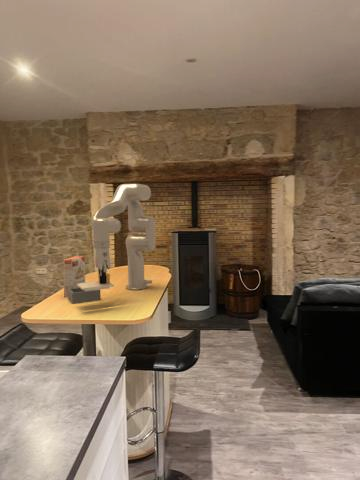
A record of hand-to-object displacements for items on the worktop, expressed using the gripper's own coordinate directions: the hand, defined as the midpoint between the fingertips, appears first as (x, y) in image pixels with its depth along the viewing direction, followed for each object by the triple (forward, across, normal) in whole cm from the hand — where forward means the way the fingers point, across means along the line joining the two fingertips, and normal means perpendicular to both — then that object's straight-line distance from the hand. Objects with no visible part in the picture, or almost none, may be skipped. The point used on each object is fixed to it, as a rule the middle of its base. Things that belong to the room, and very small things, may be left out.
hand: (102, 283), depth 169 cm
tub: (+12, +16, +5) cm, 21 cm away
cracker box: (+12, +30, +7) cm, 33 cm away
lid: (+2, 0, +4) cm, 4 cm away
